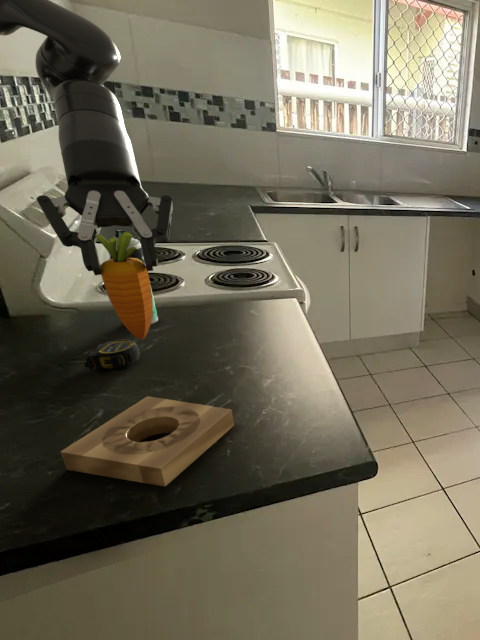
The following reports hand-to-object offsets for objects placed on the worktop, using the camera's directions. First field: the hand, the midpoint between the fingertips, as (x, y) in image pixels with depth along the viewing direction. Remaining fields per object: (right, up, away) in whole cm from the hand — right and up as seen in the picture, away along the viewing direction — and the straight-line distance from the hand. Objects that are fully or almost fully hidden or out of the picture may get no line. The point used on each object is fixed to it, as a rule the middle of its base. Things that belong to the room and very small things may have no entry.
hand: (124, 269), depth 60 cm
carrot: (-2, -9, +6) cm, 11 cm away
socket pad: (-2, -24, +9) cm, 26 cm away
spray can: (-31, -5, +44) cm, 54 cm away
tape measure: (-24, -14, +27) cm, 38 cm away
